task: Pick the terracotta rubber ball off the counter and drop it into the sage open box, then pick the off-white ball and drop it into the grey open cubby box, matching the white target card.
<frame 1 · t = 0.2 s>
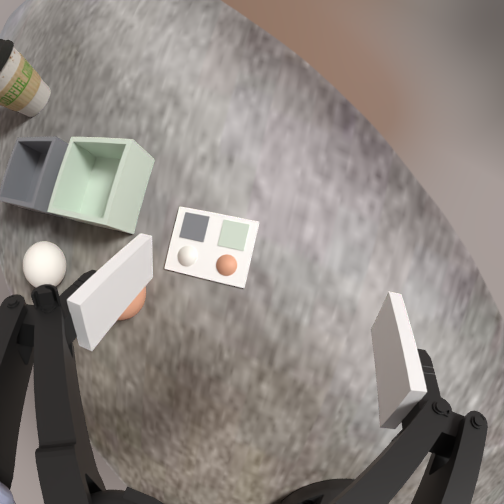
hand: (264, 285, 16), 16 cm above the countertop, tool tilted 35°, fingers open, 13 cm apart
ball white: (44, 265, 33), point 3 cm above the countertop
sage open box: (113, 191, 35), on the countertop
coffee cup: (38, 102, 40), on the countertop
target card: (210, 245, 33), on the countertop
ball terracotta: (118, 291, 31), point 3 cm above the countertop
grey open cubby box: (50, 181, 37), on the countertop
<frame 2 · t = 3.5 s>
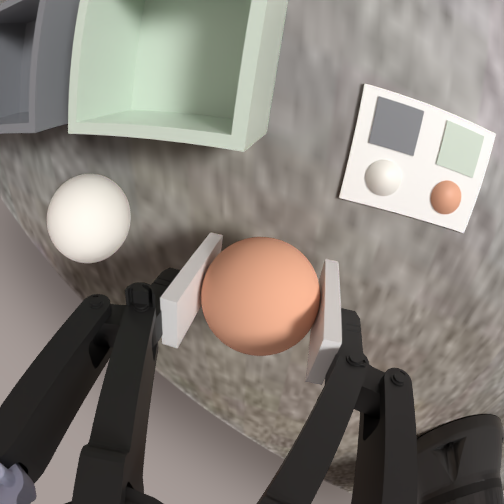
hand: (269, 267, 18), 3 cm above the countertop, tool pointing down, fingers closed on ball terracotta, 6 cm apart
ball white: (88, 218, 19), point 3 cm above the countertop
sage open box: (200, 50, 15), on the countertop
target card: (422, 162, 16), on the countertop
ball terracotta: (260, 296, 16), point 6 cm above the countertop, touching gripper
grey open cubby box: (56, 60, 17), on the countertop
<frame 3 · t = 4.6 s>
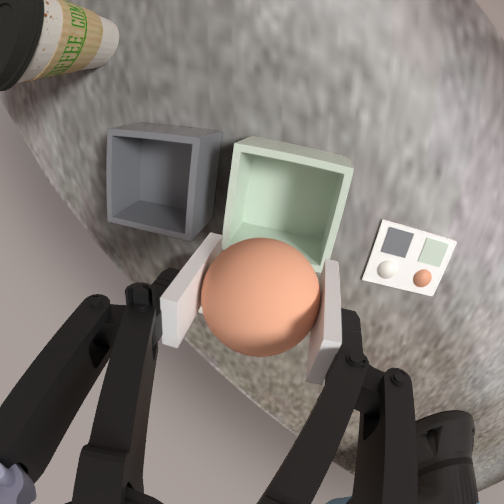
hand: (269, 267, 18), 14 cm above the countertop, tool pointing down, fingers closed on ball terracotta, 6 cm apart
sage open box: (290, 191, 30), on the countertop
coffee cup: (98, 43, 26), on the countertop
target card: (410, 260, 30), on the countertop
ball terracotta: (260, 297, 16), point 17 cm above the countertop, touching gripper
grey open cubby box: (175, 169, 31), on the countertop
when the fingers open (7 cm above the countertop, at t = 6.0 s): ball terracotta drops 6 cm, resting on sage open box.
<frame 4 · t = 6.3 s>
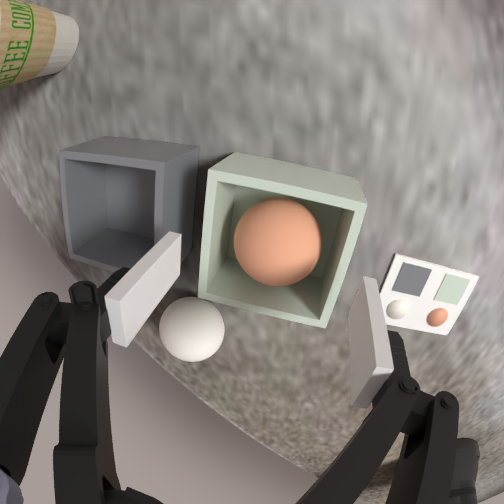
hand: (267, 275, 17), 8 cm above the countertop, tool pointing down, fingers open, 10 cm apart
ball white: (191, 329, 28), point 3 cm above the countertop
sage open box: (284, 220, 24), on the countertop
coffee cup: (58, 44, 21), on the countertop
target card: (425, 298, 25), on the countertop
ball terracotta: (278, 242, 21), point 4 cm above the countertop, touching sage open box
grey open cubby box: (146, 192, 26), on the countertop
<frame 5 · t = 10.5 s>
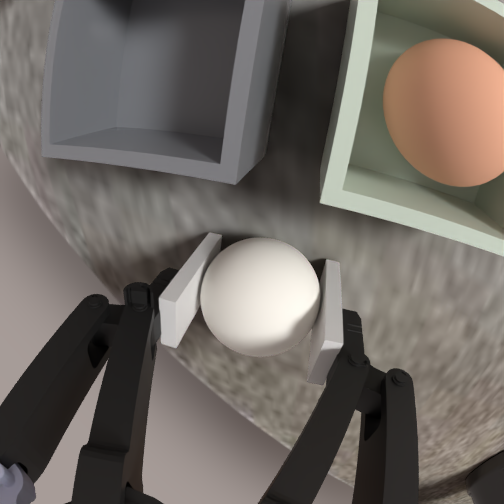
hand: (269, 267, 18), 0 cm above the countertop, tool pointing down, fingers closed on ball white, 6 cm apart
ball white: (260, 297, 16), point 3 cm above the countertop, touching gripper
sage open box: (425, 105, 12), on the countertop
ball terracotta: (454, 111, 9), point 4 cm above the countertop, touching sage open box
grey open cubby box: (192, 59, 14), on the countertop
when the fingers open (7 cm above the countertop, at t = 13.4 s): ball white drops 7 cm, resting on grey open cubby box.
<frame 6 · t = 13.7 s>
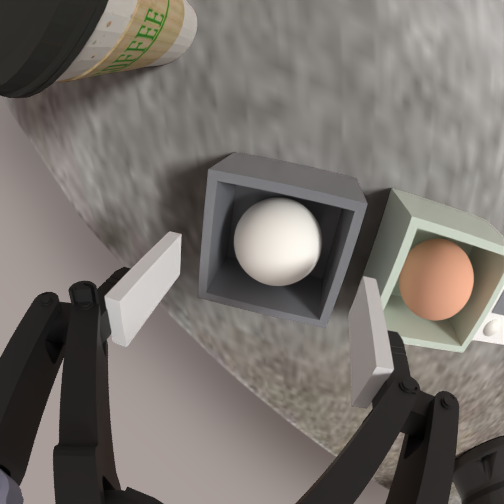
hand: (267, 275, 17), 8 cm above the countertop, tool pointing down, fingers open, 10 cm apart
ball white: (278, 241, 21), point 4 cm above the countertop, touching grey open cubby box
sage open box: (423, 254, 23), on the countertop
coffee cup: (162, 30, 19), on the countertop
ball terracotta: (436, 279, 20), point 4 cm above the countertop, touching sage open box
grey open cubby box: (284, 220, 24), on the countertop
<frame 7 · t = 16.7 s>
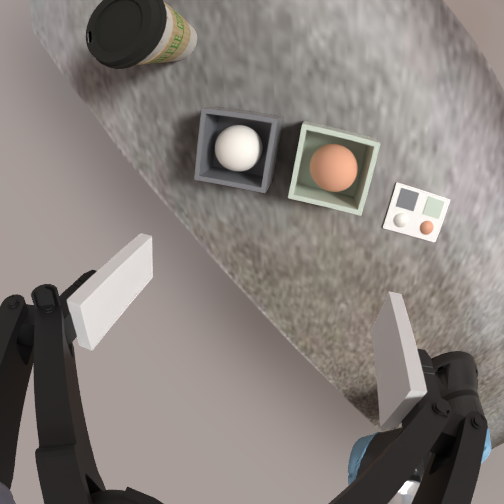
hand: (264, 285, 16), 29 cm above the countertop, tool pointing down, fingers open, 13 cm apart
ball white: (238, 148, 38), point 4 cm above the countertop, touching grey open cubby box
sage open box: (331, 161, 40), on the countertop
coffee cup: (177, 41, 36), on the countertop
target card: (417, 213, 40), on the countertop
ball terracotta: (333, 167, 37), point 4 cm above the countertop, touching sage open box
grey open cubby box: (244, 143, 41), on the countertop
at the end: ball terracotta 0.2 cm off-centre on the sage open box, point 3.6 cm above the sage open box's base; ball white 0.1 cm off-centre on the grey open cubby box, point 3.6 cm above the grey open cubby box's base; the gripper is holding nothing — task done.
